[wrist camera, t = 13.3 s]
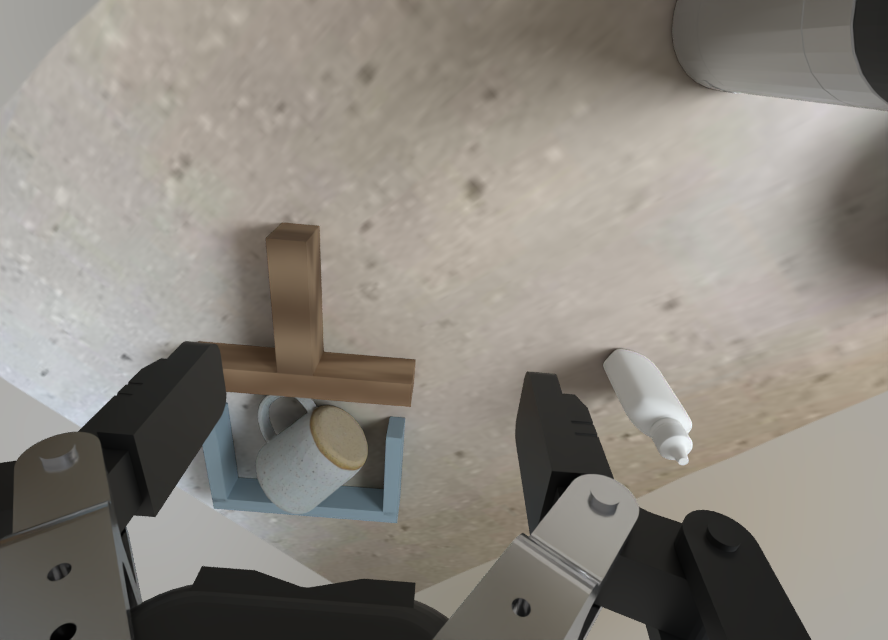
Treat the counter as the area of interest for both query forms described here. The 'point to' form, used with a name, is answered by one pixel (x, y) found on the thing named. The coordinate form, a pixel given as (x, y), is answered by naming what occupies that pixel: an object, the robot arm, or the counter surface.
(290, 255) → the scraper
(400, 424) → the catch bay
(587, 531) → the robot arm
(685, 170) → the counter surface
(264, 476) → the ceramic mug
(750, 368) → the counter surface
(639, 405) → the eye dropper bottle
